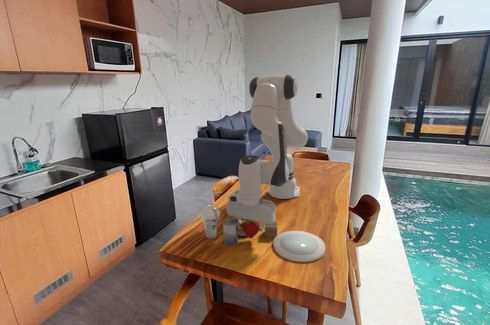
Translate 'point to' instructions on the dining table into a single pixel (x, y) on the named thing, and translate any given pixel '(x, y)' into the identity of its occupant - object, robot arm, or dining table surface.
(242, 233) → the bread roll
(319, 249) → the plate
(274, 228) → the walnut block
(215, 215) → the cup with straw
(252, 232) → the strawberry
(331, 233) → the dining table surface
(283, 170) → the robot arm
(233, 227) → the drinking glass
